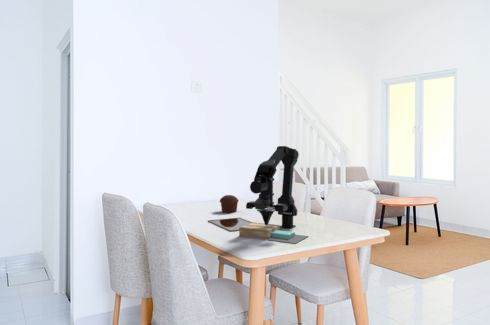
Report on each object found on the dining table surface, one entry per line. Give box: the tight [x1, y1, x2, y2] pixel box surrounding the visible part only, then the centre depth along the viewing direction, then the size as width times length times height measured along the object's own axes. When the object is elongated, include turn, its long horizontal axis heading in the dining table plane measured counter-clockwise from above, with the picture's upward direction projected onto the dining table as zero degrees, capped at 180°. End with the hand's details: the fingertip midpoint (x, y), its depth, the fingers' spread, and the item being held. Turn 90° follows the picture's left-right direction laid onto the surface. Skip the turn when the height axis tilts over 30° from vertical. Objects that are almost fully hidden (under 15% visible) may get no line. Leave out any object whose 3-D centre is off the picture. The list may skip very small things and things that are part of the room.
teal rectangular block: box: [271, 229, 296, 239], centre depth 191 cm, size 6×9×2 cm, turn 60°
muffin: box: [219, 194, 239, 214], centre depth 258 cm, size 12×11×10 cm
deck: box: [238, 221, 281, 241], centre depth 196 cm, size 14×14×4 cm
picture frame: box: [207, 217, 253, 233], centre depth 220 cm, size 19×1×28 cm
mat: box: [266, 234, 309, 245], centre depth 189 cm, size 15×13×1 cm
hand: (266, 225), depth 194 cm, fingers closed
